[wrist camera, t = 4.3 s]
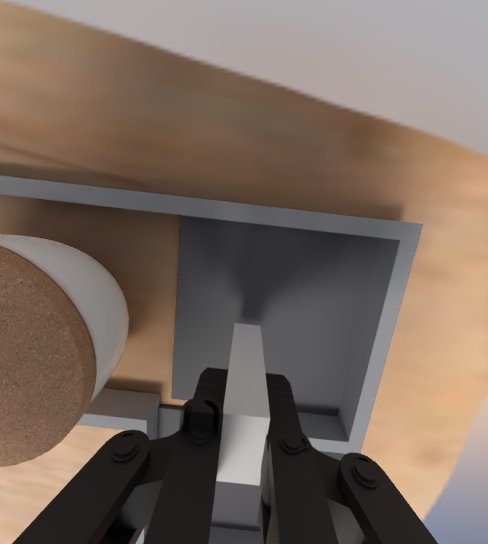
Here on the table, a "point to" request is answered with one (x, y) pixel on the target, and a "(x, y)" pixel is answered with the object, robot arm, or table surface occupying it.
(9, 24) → the table surface
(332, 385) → the box
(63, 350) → the lidded jar
